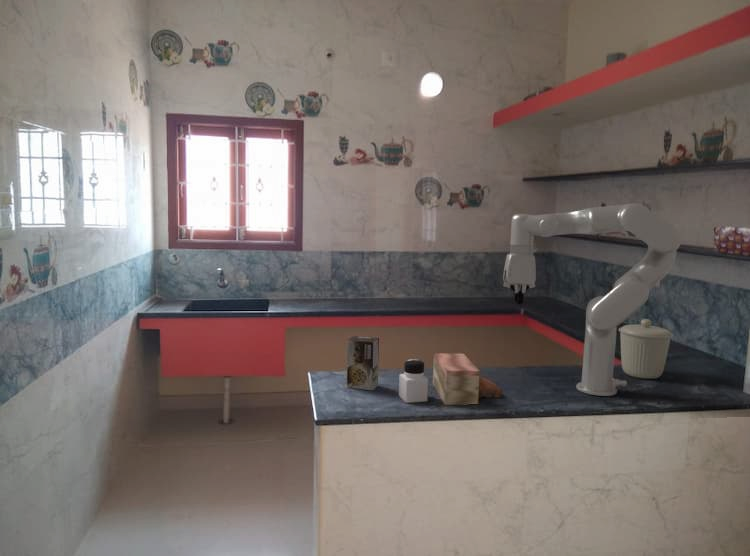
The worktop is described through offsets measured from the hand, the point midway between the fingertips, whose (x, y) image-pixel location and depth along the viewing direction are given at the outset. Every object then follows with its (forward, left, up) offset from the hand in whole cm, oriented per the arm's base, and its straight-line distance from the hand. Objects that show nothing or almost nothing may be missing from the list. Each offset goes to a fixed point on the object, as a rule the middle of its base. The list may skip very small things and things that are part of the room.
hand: (518, 304), depth 196 cm
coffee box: (+53, +7, -27) cm, 60 cm away
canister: (-51, -9, -27) cm, 59 cm away
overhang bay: (+24, +14, -27) cm, 39 cm away
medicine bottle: (+38, +19, -27) cm, 51 cm away
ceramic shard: (+18, +12, -28) cm, 35 cm away
